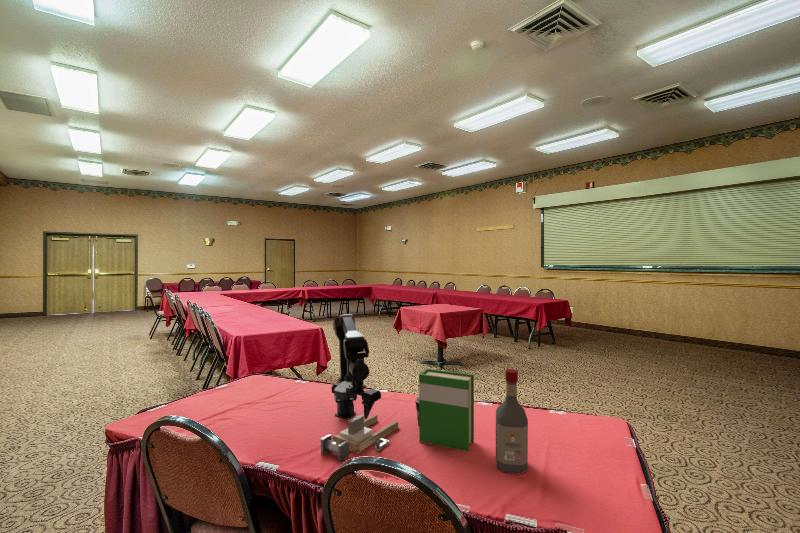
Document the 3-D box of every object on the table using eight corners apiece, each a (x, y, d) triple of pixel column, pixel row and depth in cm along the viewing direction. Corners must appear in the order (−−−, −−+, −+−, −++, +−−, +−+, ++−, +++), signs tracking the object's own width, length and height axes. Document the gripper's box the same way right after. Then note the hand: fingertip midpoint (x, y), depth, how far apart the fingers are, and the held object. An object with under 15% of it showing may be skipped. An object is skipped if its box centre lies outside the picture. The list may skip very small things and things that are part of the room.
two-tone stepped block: (340, 443, 137) (339, 419, 137) (355, 434, 144) (355, 411, 143) (357, 450, 132) (356, 425, 132) (372, 440, 139) (372, 417, 139)
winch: (320, 453, 130) (320, 438, 130) (329, 448, 134) (329, 434, 133) (340, 461, 125) (340, 446, 125) (348, 456, 128) (348, 441, 128)
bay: (333, 444, 137) (332, 435, 137) (375, 420, 155) (375, 412, 155) (357, 453, 130) (357, 444, 130) (398, 427, 149) (398, 419, 149)
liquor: (528, 475, 117) (529, 376, 116) (497, 472, 118) (497, 374, 117) (524, 459, 126) (524, 367, 125) (495, 456, 127) (495, 365, 126)
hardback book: (473, 441, 137) (473, 374, 136) (468, 451, 131) (468, 381, 130) (426, 432, 145) (426, 368, 144) (419, 441, 138) (419, 374, 137)
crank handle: (378, 451, 132) (377, 442, 131) (368, 447, 134) (368, 439, 134) (389, 444, 136) (389, 435, 136) (380, 440, 139) (380, 432, 139)
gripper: (319, 373, 136) (320, 417, 136) (360, 383, 125) (360, 431, 125) (342, 365, 145) (342, 406, 145) (381, 374, 134) (382, 418, 134)
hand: (356, 415), depth 137 cm, fingers open, 9 cm apart
